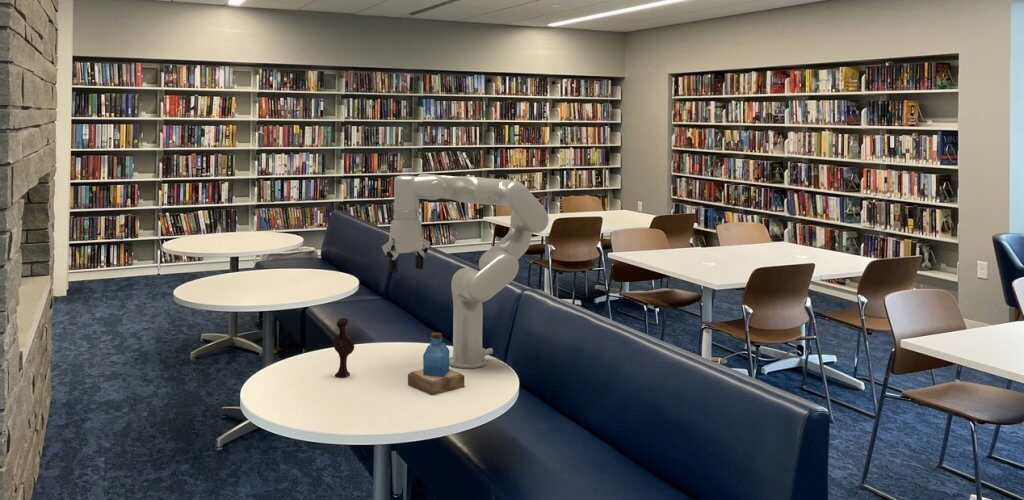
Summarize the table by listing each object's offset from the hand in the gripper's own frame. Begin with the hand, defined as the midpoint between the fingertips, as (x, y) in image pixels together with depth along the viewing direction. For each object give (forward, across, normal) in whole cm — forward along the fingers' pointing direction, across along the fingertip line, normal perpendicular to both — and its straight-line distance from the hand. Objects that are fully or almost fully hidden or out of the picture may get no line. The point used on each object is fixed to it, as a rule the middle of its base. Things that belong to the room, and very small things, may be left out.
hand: (406, 270), depth 246 cm
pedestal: (+32, +2, +18) cm, 37 cm away
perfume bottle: (+28, +2, +18) cm, 34 cm away
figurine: (+32, +18, -8) cm, 38 cm away
